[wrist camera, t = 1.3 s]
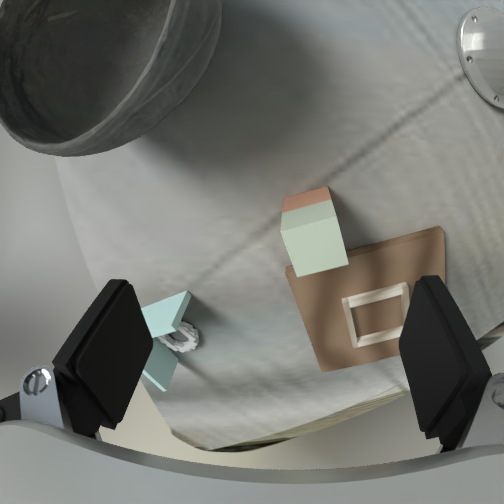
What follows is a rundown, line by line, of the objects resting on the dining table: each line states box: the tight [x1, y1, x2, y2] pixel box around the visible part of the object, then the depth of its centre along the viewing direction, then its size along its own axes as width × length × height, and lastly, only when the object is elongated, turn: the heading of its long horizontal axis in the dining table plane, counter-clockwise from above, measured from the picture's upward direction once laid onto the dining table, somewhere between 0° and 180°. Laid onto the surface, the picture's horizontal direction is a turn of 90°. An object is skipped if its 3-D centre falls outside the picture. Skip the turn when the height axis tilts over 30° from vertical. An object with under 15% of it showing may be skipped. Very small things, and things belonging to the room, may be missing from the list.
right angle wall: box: [141, 291, 199, 391], centre depth 43 cm, size 12×12×8 cm
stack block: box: [280, 186, 349, 277], centre depth 30 cm, size 5×5×8 cm
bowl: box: [0, 0, 222, 157], centre depth 19 cm, size 21×21×15 cm
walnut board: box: [285, 226, 445, 372], centre depth 38 cm, size 20×20×3 cm
